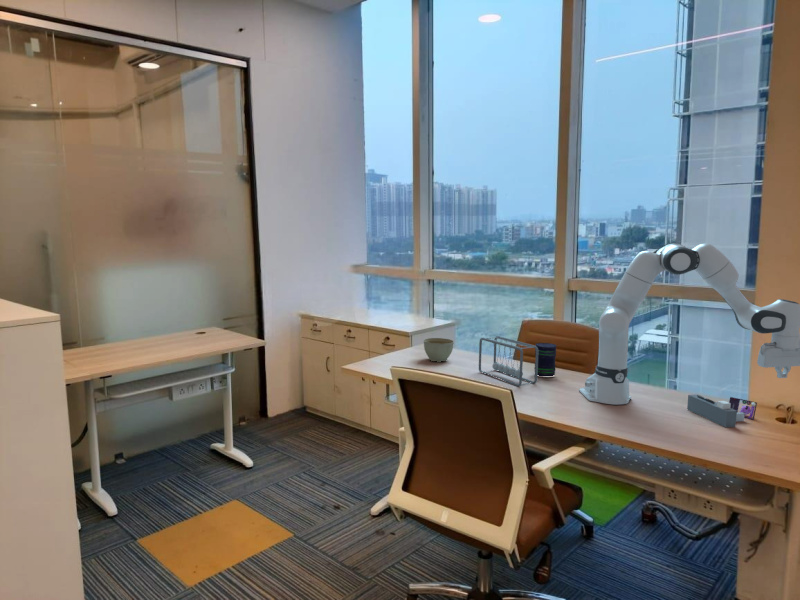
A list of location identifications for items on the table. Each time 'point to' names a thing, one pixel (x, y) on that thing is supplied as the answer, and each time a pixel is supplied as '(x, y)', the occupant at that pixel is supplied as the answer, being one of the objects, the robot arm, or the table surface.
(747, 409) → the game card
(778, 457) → the table surface
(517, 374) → the newton's cradle
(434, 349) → the planter bowl
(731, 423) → the charging dock
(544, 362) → the storage jar
